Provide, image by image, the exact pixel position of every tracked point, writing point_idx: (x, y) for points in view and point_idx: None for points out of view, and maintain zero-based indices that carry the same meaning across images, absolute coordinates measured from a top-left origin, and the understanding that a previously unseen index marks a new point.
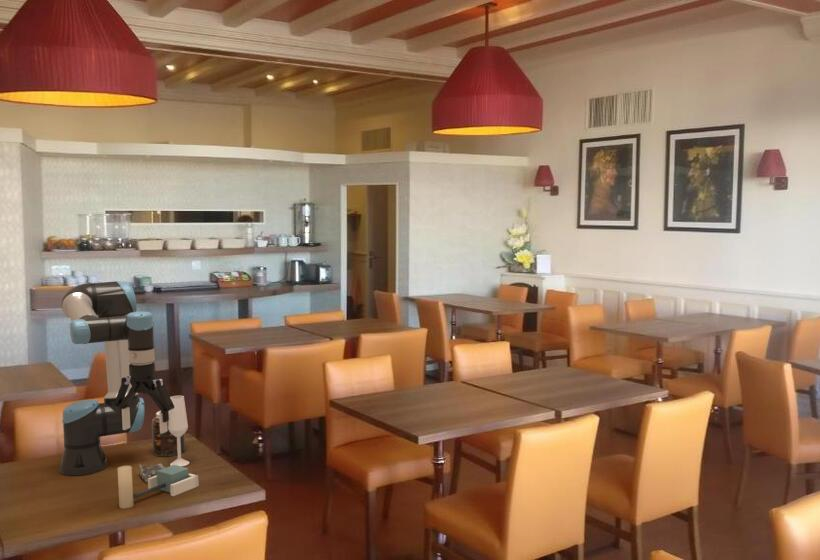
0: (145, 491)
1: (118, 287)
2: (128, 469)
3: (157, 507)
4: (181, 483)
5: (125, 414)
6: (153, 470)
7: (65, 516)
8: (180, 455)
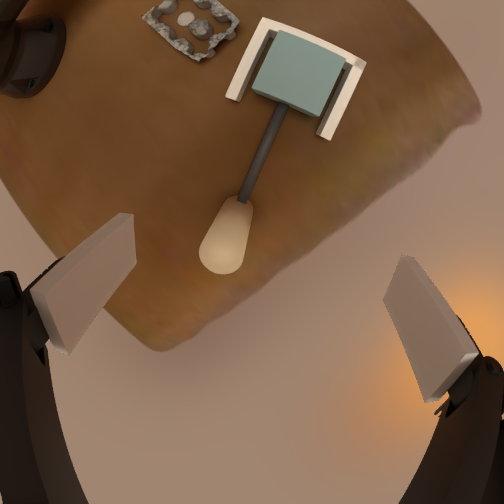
0: (260, 166)
1: None
2: (241, 263)
3: (316, 209)
4: (342, 112)
5: (85, 309)
6: (197, 25)
7: (152, 272)
8: None
